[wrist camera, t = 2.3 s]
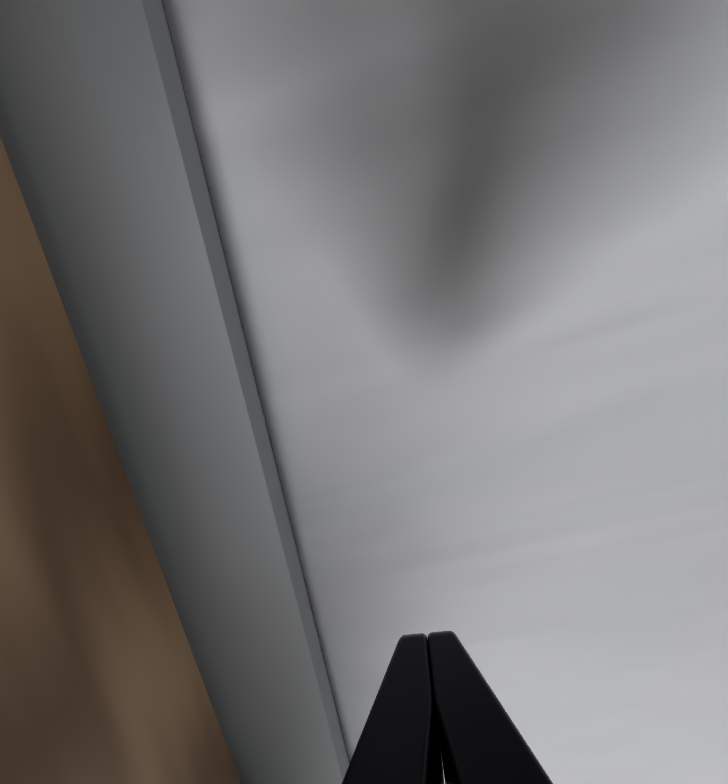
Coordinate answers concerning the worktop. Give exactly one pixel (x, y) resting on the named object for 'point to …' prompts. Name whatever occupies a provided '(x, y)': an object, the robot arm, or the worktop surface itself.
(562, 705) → the worktop surface
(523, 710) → the worktop surface
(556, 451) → the worktop surface
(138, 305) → the gate frame
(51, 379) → the gate
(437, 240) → the worktop surface
